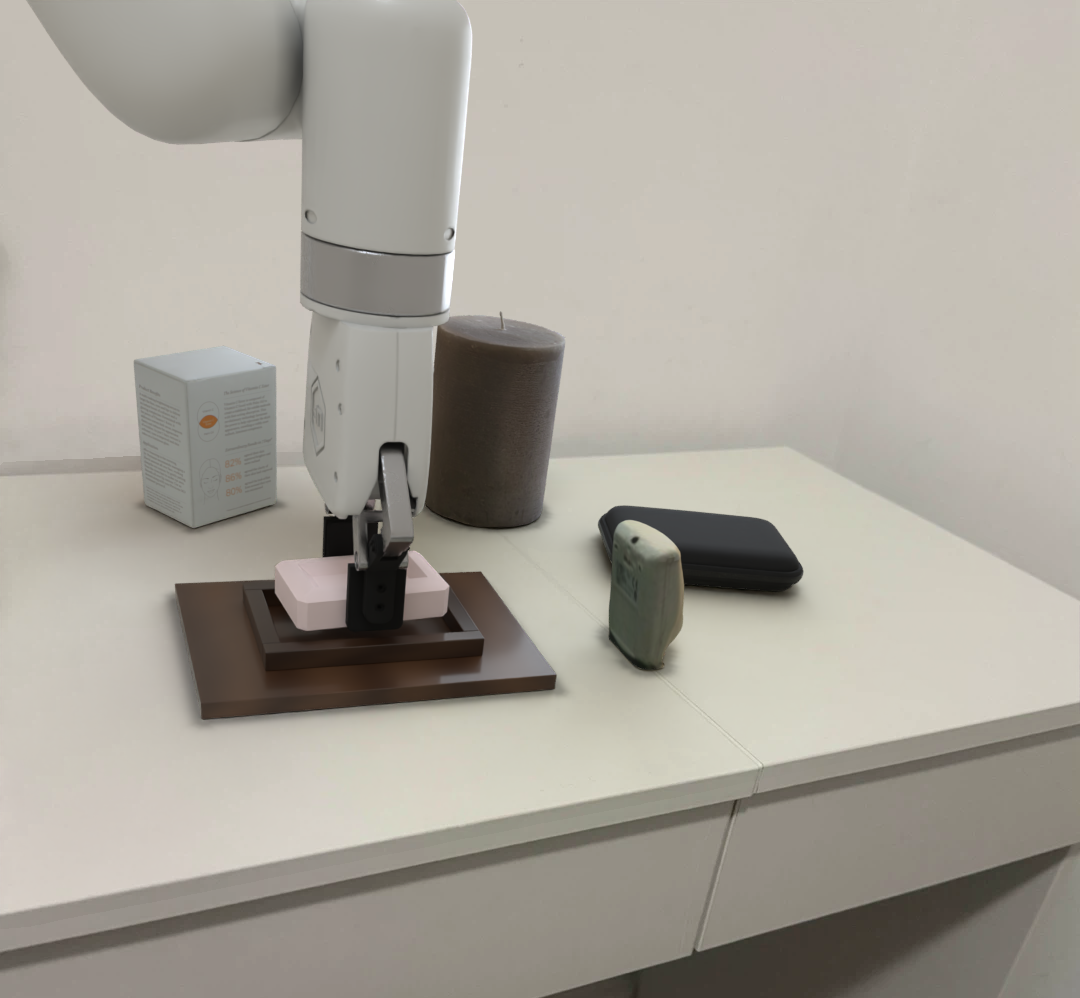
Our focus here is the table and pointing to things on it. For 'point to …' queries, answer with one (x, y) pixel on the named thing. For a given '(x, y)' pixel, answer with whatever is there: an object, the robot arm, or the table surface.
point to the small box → (207, 433)
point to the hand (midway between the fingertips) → (361, 599)
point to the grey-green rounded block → (645, 594)
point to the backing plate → (350, 652)
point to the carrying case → (716, 547)
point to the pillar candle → (492, 419)
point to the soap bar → (322, 588)
